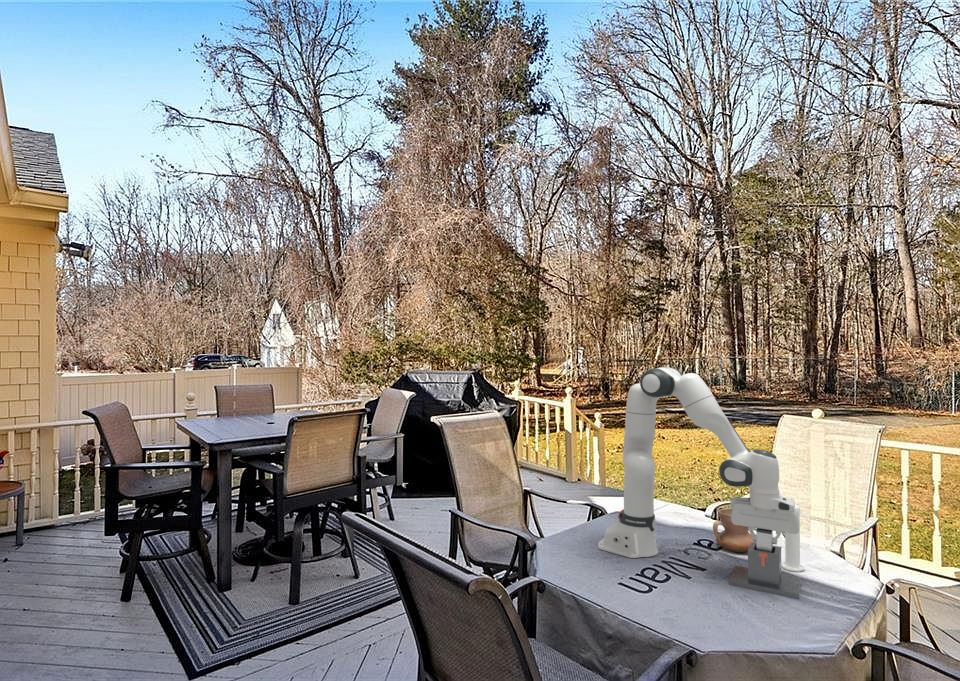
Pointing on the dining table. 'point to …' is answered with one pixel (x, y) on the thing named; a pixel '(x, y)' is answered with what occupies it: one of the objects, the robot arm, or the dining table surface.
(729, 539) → the ceramic jug
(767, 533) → the column
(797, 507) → the candle
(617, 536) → the robot arm
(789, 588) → the stand housing
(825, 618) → the dining table surface
